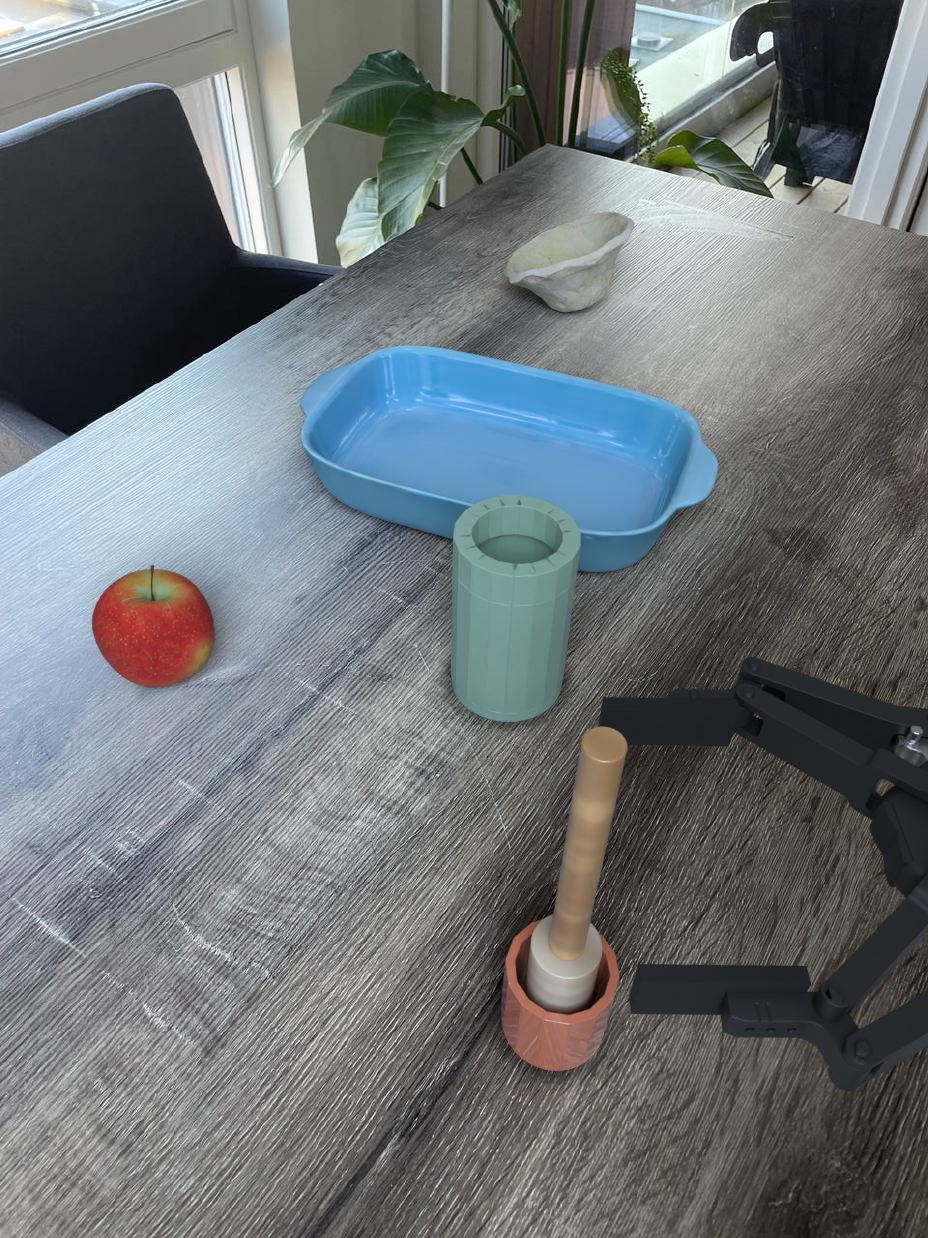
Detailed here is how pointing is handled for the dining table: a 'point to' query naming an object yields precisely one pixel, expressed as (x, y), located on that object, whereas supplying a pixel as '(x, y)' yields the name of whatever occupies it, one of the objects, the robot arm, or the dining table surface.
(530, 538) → the green cylindrical holder
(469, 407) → the casserole dish
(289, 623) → the dining table surface
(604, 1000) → the cup
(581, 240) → the bowl
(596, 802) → the tan long rod
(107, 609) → the apple
